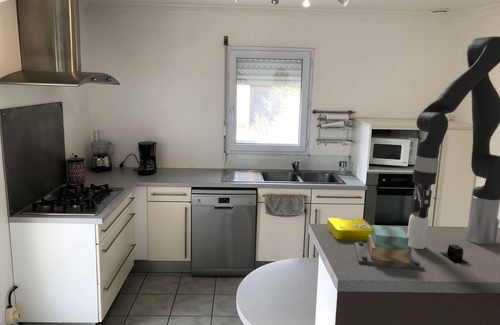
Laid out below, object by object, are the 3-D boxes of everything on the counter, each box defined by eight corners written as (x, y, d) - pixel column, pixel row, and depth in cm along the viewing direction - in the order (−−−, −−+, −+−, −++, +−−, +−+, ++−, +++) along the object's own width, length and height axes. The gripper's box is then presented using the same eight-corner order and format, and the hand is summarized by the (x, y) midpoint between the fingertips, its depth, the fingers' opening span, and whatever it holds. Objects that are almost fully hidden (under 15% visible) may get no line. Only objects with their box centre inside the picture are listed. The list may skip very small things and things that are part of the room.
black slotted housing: (475, 267, 134) (477, 254, 133) (454, 267, 133) (456, 254, 132) (452, 252, 146) (454, 239, 145) (433, 252, 145) (435, 239, 144)
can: (425, 245, 150) (429, 213, 148) (425, 251, 144) (429, 218, 142) (406, 241, 153) (410, 210, 150) (405, 247, 147) (409, 215, 145)
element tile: (361, 227, 167) (362, 216, 166) (376, 241, 152) (377, 229, 152) (325, 227, 165) (326, 216, 165) (336, 241, 151) (338, 229, 150)
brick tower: (412, 250, 144) (416, 226, 142) (424, 270, 128) (427, 243, 127) (354, 244, 147) (356, 220, 145) (358, 263, 132) (361, 236, 130)
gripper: (442, 174, 136) (435, 221, 139) (431, 166, 150) (425, 209, 153) (419, 172, 137) (412, 219, 140) (409, 165, 151) (404, 207, 154)
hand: (419, 214), depth 146 cm, fingers open, 8 cm apart
